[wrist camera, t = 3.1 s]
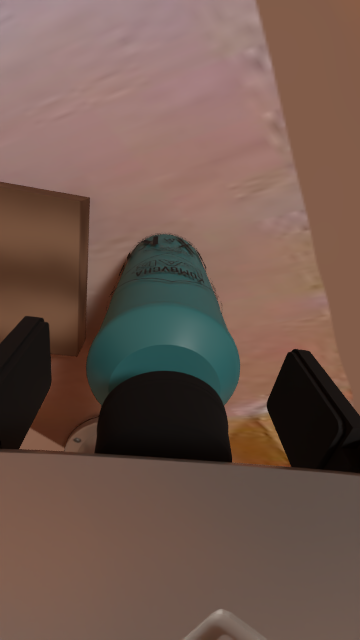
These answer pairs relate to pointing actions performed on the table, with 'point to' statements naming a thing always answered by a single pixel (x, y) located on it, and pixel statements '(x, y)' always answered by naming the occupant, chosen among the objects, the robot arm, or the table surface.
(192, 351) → the beverage bottle
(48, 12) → the table surface
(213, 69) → the table surface
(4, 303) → the walnut plinth
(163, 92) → the table surface
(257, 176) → the table surface
